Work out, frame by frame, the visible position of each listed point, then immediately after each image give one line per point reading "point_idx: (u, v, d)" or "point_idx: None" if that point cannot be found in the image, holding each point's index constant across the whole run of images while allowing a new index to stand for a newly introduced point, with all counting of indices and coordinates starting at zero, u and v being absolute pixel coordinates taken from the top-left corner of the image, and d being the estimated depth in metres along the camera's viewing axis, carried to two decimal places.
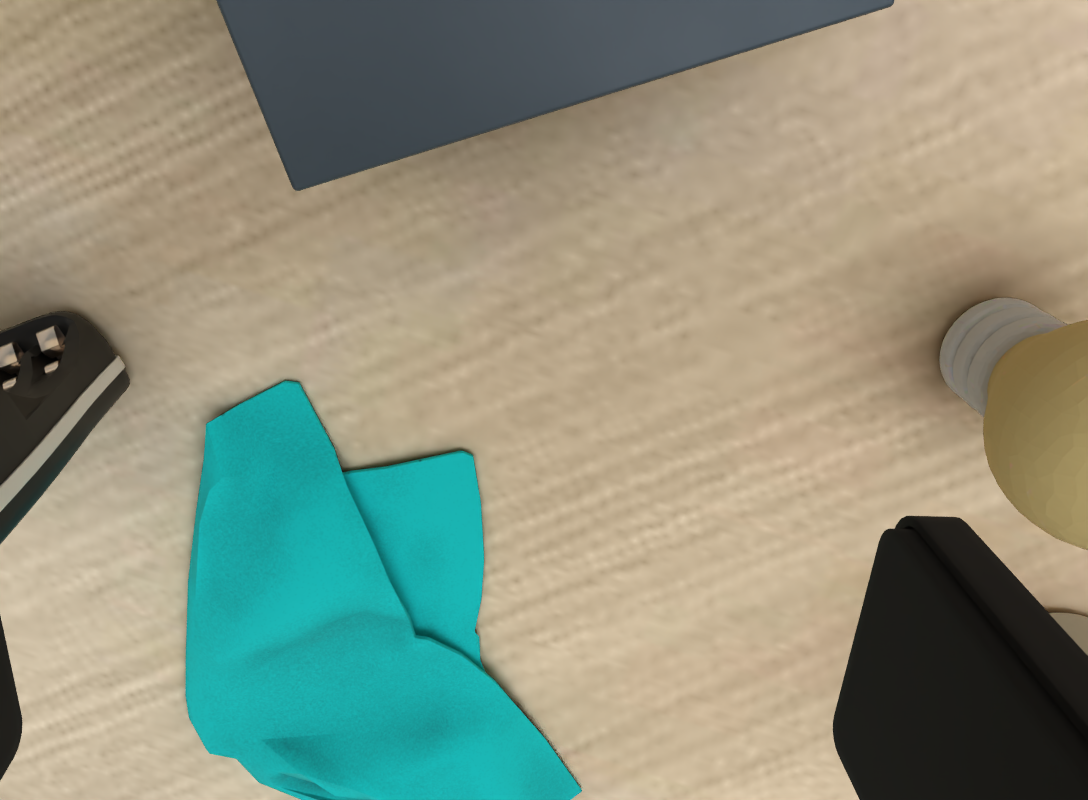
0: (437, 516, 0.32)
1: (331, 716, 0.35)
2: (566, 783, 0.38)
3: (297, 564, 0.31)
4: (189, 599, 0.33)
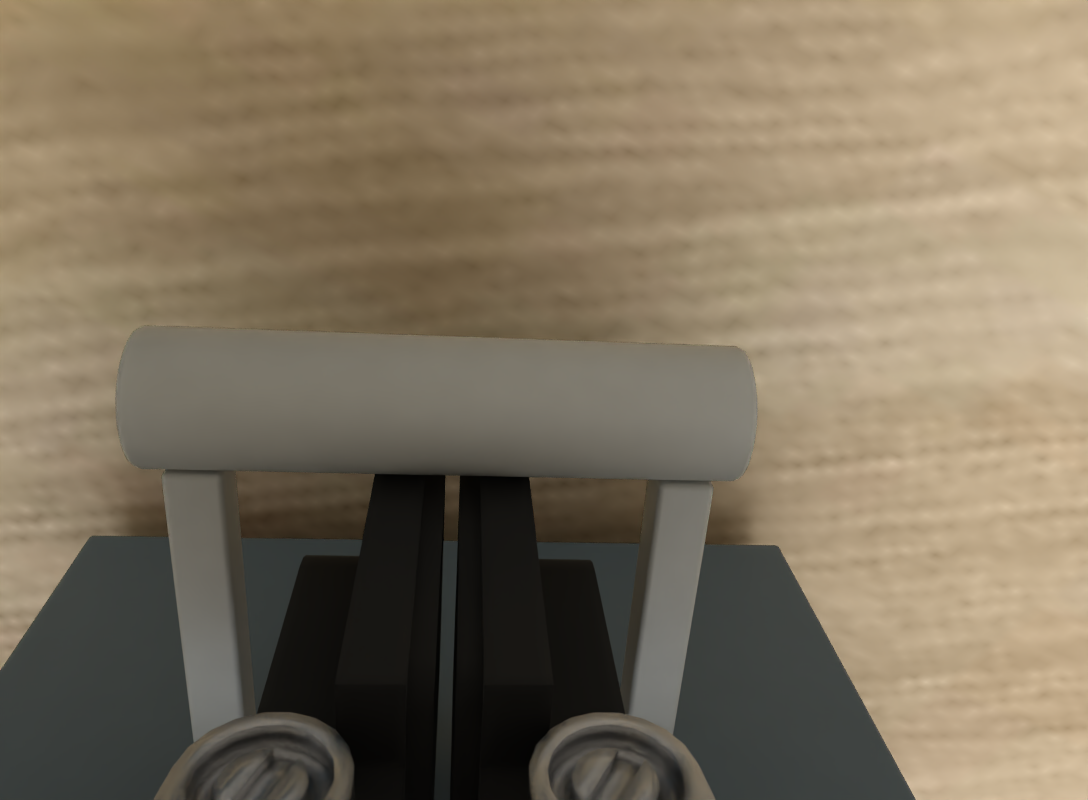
0: None
1: None
2: None
3: None
4: None
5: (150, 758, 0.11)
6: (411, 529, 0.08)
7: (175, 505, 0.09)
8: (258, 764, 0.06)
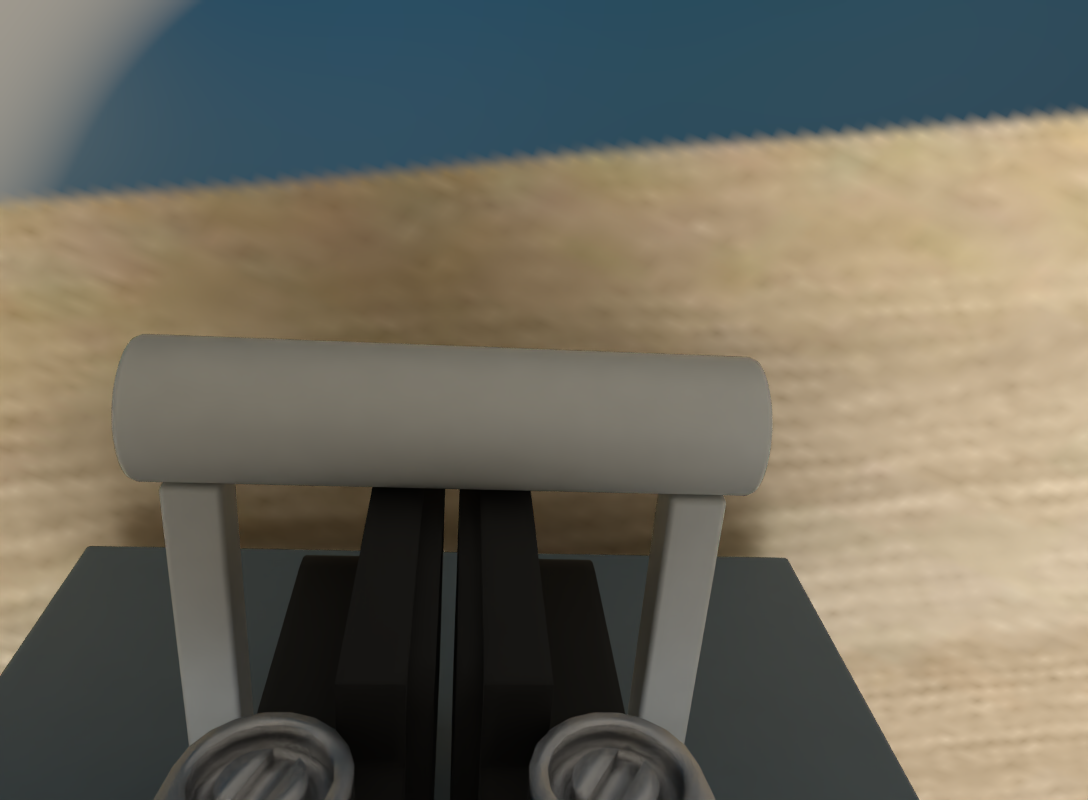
0: None
1: None
2: None
3: None
4: None
5: (147, 778, 0.10)
6: (411, 530, 0.08)
7: (171, 518, 0.09)
8: (258, 764, 0.06)
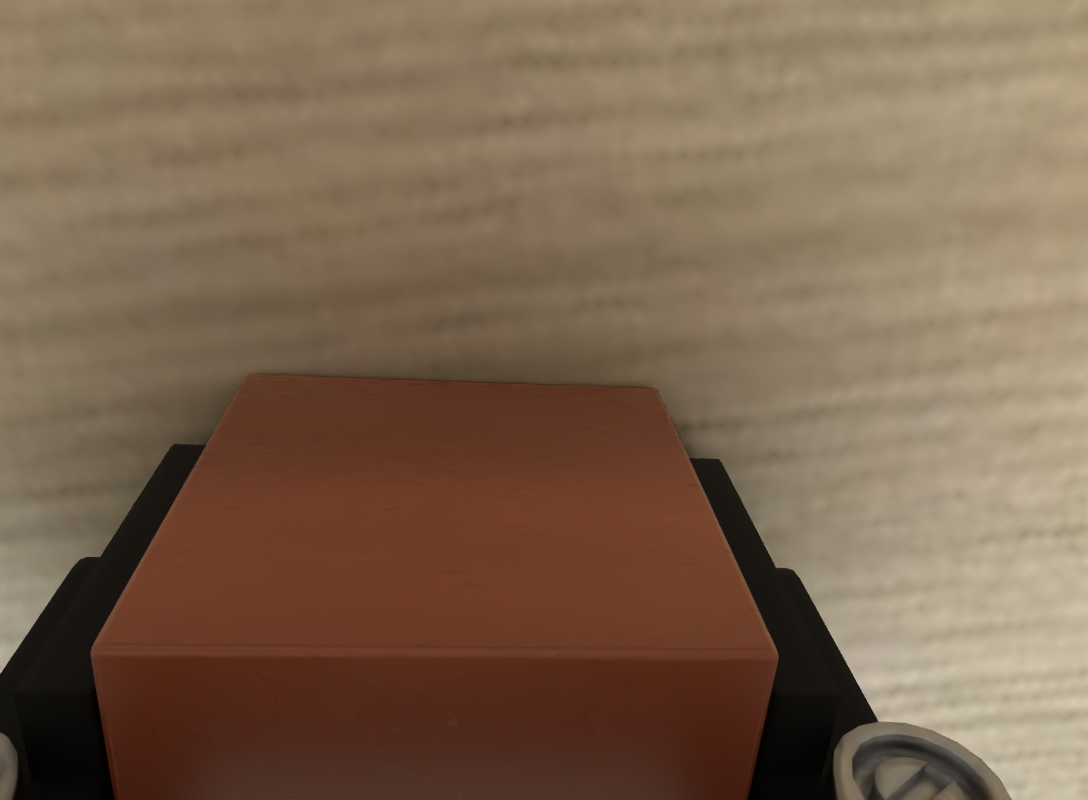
0: None
1: None
2: None
3: None
4: None
5: None
6: None
7: None
8: None
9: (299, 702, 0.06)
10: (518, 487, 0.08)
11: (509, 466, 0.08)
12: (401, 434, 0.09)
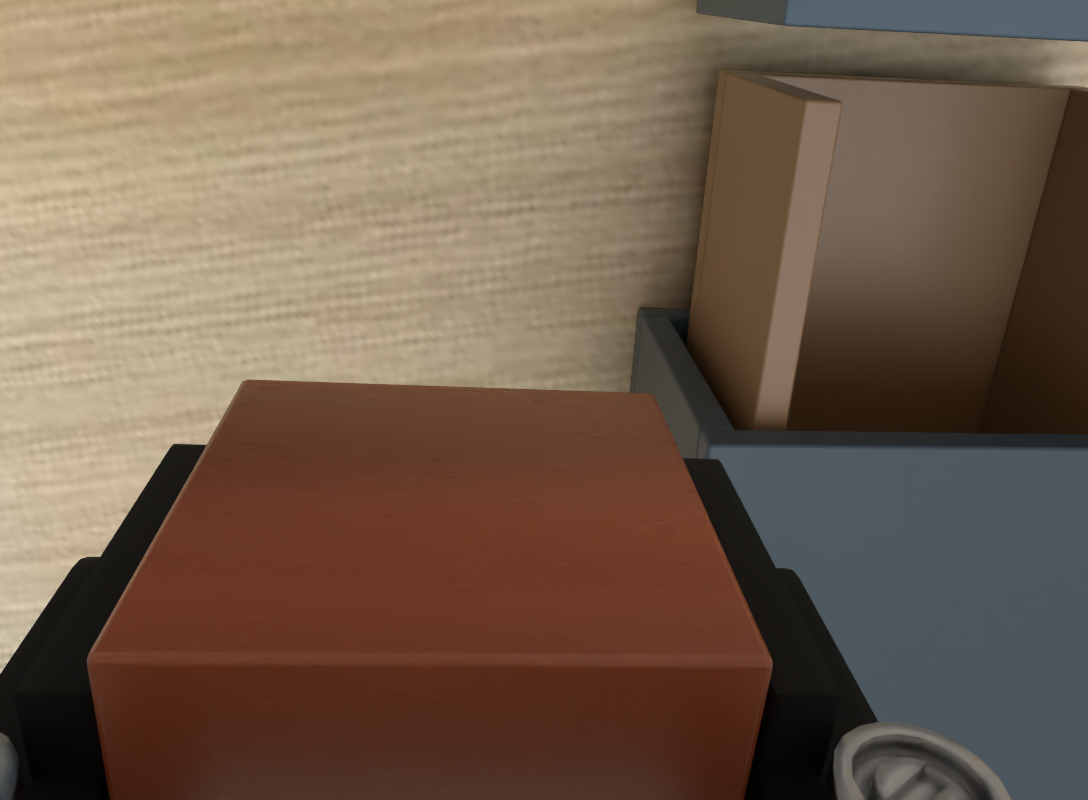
0: None
1: None
2: None
3: None
4: None
5: None
6: None
7: None
8: None
9: (295, 710, 0.06)
10: (515, 493, 0.08)
11: (506, 471, 0.08)
12: (398, 440, 0.09)
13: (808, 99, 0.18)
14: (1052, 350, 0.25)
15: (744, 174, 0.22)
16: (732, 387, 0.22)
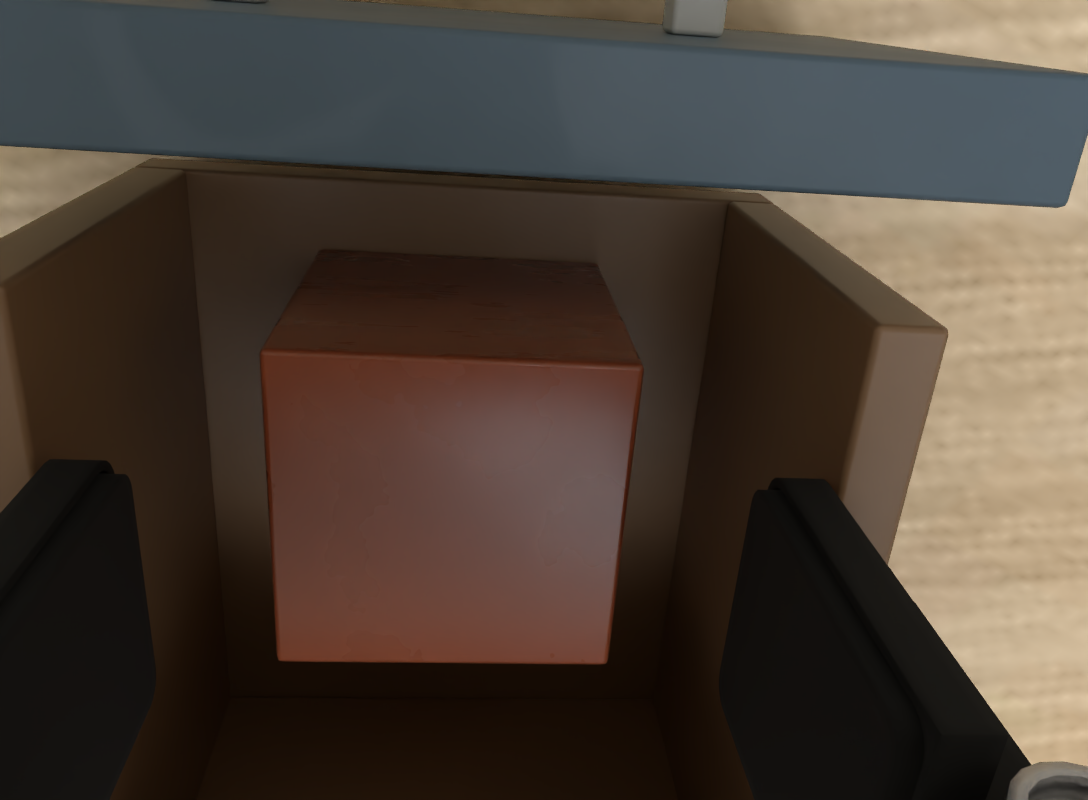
0: None
1: None
2: None
3: None
4: None
5: None
6: (18, 553, 0.08)
7: None
8: None
9: (374, 388, 0.11)
10: (499, 302, 0.13)
11: (494, 293, 0.13)
12: (425, 278, 0.13)
13: None
14: (703, 619, 0.15)
15: None
16: None
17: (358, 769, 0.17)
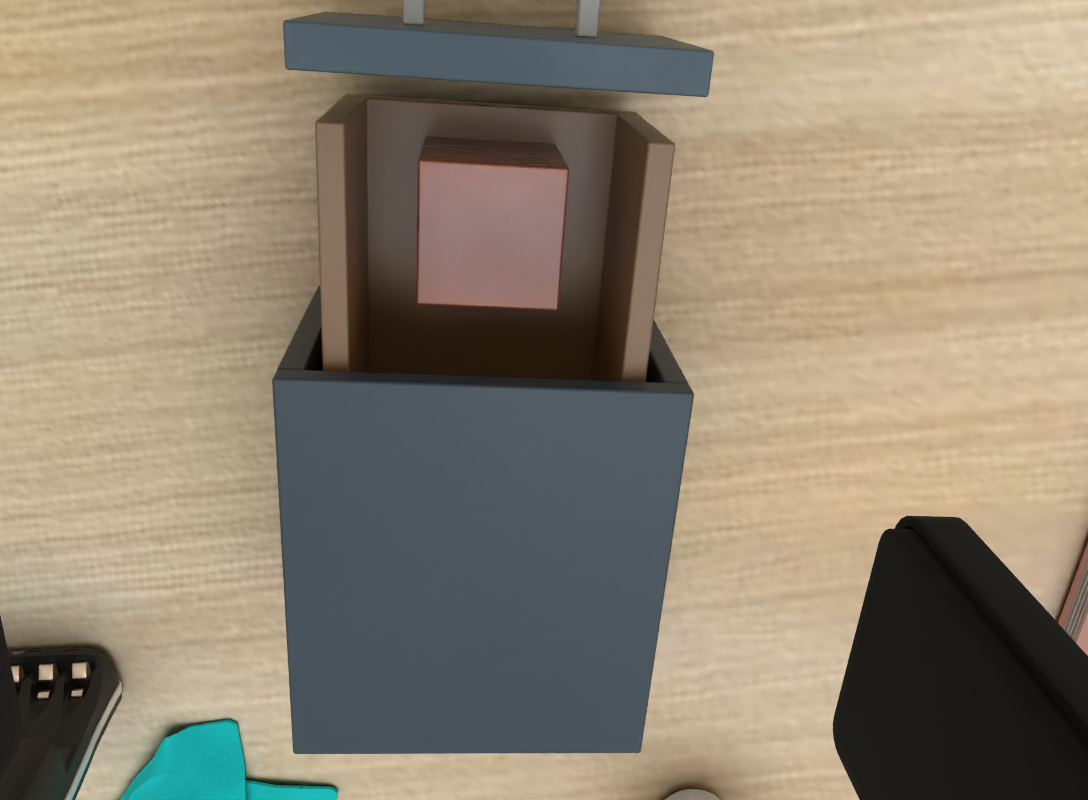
0: None
1: None
2: None
3: None
4: None
5: (384, 22, 0.26)
6: None
7: None
8: None
9: (462, 176, 0.27)
10: (511, 152, 0.29)
11: (508, 150, 0.30)
12: (476, 145, 0.30)
13: (319, 121, 0.25)
14: (607, 315, 0.32)
15: None
16: None
17: None
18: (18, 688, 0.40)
